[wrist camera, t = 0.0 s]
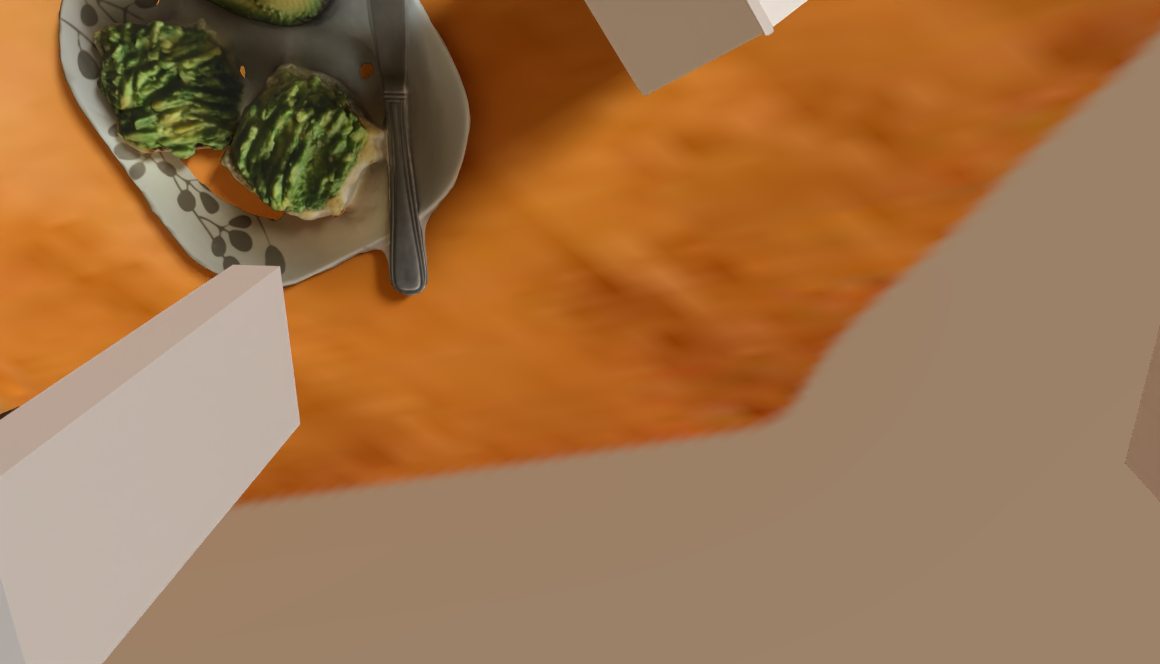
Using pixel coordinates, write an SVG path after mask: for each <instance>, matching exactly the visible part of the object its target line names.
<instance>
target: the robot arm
mask: <svg viewBox="0 0 1160 664" xmlns="http://www.w3.org/2000/svg"><path fill="white" fill-rule="evenodd" d="M299 425H300V419H299V411H298V403H297V395H296V387H295V379H294V372H293V364H292V356H291V348H290V340H289V332H288V325H287V317H286V309H285V301H284V293H283V285H282V277H281V270H280V266H258V265H232V266H230V267H229V268H227V269H226V270H224V271H223V272H221V273H220V274H218V275H217V276H215V277H214V278H212V279H211V280H209V281H208V282H206V283H205V284H203V285H202V286H200V287H199V288H197V289H196V290H194V291H193V292H191V293H190V294H188V295H187V296H185V297H184V298H182V299H181V300H179V301H178V302H176V303H175V304H173V305H172V306H170V307H169V308H167V309H166V310H164V311H163V312H161V313H160V314H158V315H157V316H155V317H154V318H152V319H151V320H149V321H148V322H146V323H145V324H143V325H142V326H140V327H139V328H137V329H136V330H134V331H133V332H131V333H130V334H128V335H127V336H125V337H124V338H122V339H121V340H119V341H118V342H116V343H115V344H113V345H112V346H110V347H109V348H107V349H106V350H104V351H103V352H101V353H100V354H98V355H97V356H95V357H94V358H92V359H91V360H89V361H88V362H86V363H85V364H83V365H82V366H80V367H79V368H77V369H76V370H74V371H73V372H71V373H70V374H68V375H67V376H65V377H64V378H62V379H61V380H59V381H58V382H56V383H55V384H53V385H52V386H50V387H49V388H47V389H46V390H44V391H43V392H41V393H40V394H38V395H37V396H35V397H34V398H32V399H31V400H29V401H28V402H26V403H25V404H23V405H22V406H19V407H17V408H14V409H12V410H9V411H7V412H4V413H2V414H0V664H102V663H103V662H104V661H105V660H106V659H107V657H108V656H109V655H110V654H111V652H112V651H113V650H114V649H115V648H116V647H117V645H118V644H119V643H120V642H121V640H122V639H123V638H124V637H125V636H126V634H127V633H128V632H129V631H130V630H131V628H132V627H133V626H134V624H135V623H136V622H137V621H138V620H139V619H140V617H141V616H142V615H143V614H144V613H145V611H146V610H147V609H148V608H149V607H150V605H151V604H152V603H153V602H154V600H155V599H156V598H157V597H158V595H159V594H160V593H161V592H162V591H163V590H164V588H165V587H166V586H167V585H168V584H169V582H170V581H171V580H172V579H173V577H174V576H175V575H176V574H177V573H178V571H179V570H180V569H181V568H182V567H183V565H184V564H185V563H186V562H187V560H188V559H189V558H190V557H191V556H192V554H193V553H194V552H195V550H196V549H197V548H198V547H199V546H200V545H201V544H202V542H203V541H204V540H205V539H206V537H207V536H208V535H209V534H210V533H211V531H212V530H213V529H214V528H215V526H216V525H217V524H218V523H219V522H220V521H221V519H222V518H223V517H224V516H225V514H226V513H227V512H228V511H229V510H230V508H231V507H232V506H233V505H234V504H235V502H236V501H237V500H238V499H239V498H240V496H241V495H242V494H243V493H244V491H245V490H246V489H247V488H248V487H249V485H250V484H251V483H252V482H253V481H254V479H255V478H256V477H257V476H258V474H259V473H260V472H261V471H262V470H263V468H264V467H265V466H266V465H267V464H268V462H269V461H270V460H271V459H272V458H273V456H274V455H275V454H276V453H277V451H278V450H279V449H280V448H281V447H282V445H283V444H284V443H285V442H286V441H287V439H288V438H289V437H290V436H291V434H292V433H293V432H294V431H295V430H296V428H297V427H298V426H299ZM1125 464H1126V465H1127V466H1128V467H1129V468H1130V469H1131V470H1132V471H1133V472H1134V473H1135V474H1136V476H1137V477H1138V478H1139V479H1140V480H1141V481H1142V482H1143V483H1144V484H1145V486H1146V487H1147V488H1148V489H1149V490H1150V491H1151V492H1152V493H1153V494H1154V495H1155V497H1156V498H1157V499H1158V500H1159V501H1160V327H1159V331H1158V335H1157V339H1156V343H1155V347H1154V351H1153V355H1152V359H1151V363H1150V366H1149V371H1148V374H1147V378H1146V382H1145V386H1144V390H1143V394H1142V398H1141V402H1140V406H1139V409H1138V413H1137V417H1136V421H1135V425H1134V429H1133V433H1132V437H1131V441H1130V445H1129V449H1128V453H1127V457H1126V461H1125Z"/></svg>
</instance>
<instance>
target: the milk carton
mask: <svg viewBox="0 0 1160 664" xmlns="http://www.w3.org/2000/svg"><path fill="white" fill-rule="evenodd" d="M584 1H585V3H586V4H587V6H588V8H589V9H590V11H591V12H592V14H593V16H594V17H595V19H596V21H597V22H598V24H599V26H600V27H601V29H602V31H603V32H604V34H605V36H606V37H607V39H608V40H609V42H610V44H611V45H612V47H613V49H614V50H615V52H616V54H617V55H618V57H619V59H620V60H621V62H622V64H623V65H624V67H625V68H626V70H627V72H628V73H629V75H630V77H631V78H632V80H633V81H634V83H635V85H636V86H637V88H638V89H639V90H640V92H641V93H642V94H643V95H644V96H646V95H648V94H650V93H652V92H654V91H655V90H657V89H659V88H661V87H663V86H665V85H667V84H669V83H671V82H672V81H674V80H676V79H678V78H680V77H682V76H684V75H686V74H688V73H689V72H691V71H693V70H695V69H697V68H699V67H701V66H703V65H705V64H706V63H708V62H710V61H712V60H714V59H716V58H718V57H720V56H722V55H723V54H725V53H727V52H729V51H731V50H733V49H735V48H737V47H739V46H740V45H742V44H744V43H746V42H748V41H750V40H752V39H754V38H756V37H757V36H759V35H761V34H763V33H764V34H765V35H767V36H768V35H770V34H772V33H773V32H774V31H773V26H775V25H776V24H777V23H779V22H780V21H781V20H783V19H784V18H785V17H786V16H788V15H789V14H790V13H792V12H793V11H794V10H796V9H797V8H798V7H799V6H801V5H802V4H803V3H805V2H806V1H807V0H584Z"/></svg>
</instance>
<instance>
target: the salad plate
mask: <svg viewBox="0 0 1160 664" xmlns="http://www.w3.org/2000/svg"><path fill="white" fill-rule="evenodd" d="M157 2H158V0H62V2H61V7H60V12H59V46H60V60H61V63H62V68H63V72H64V75H65V79H66V81H67V83H68V85H69V86H70V89H71V91H72V93H73V95H74V97H75V100H76V101H77V103H78V105H79V106H80V108H81V109H82V111H83V113H84V114H85V115H86V117H87V118H88V120H89V121H90V122H91V124H92V125H93V127H94V128H95V130H96V131H97V133H98V134H99V135H100V137H101V138H102V139H103V141H104V142H105V143H106V145H107V146H108V147H109V149H110V150H111V152H112V153H113V154H114V156H115V157H116V158H117V160H118V161H119V162H120V164H121V165H122V166H123V168H124V169H125V170H126V172H127V173H128V175H129V177H130V178H131V179H132V181H133V182H134V183H135V184H136V185H137V187H138V188H139V189H140V190H141V192H142V194H143V196H144V197H145V199H146V200H147V202H148V203H149V205H150V208H151V210H152V212H154V213H155V214H156V215H157V216H158V217H159V218H160V220H161V221H162V223H163V224H164V225H165V227H166V228H167V229H168V231H169V232H170V233H171V234H172V236H173V237H174V238H175V239H176V240H177V242H178V243H179V244H180V246H181V247H182V248H183V249H184V251H185V252H186V253H187V254H188V255H189V256H190V257H191V258H192V259H194V260H195V261H196V262H197V263H199V264H200V265H201V266H203V267H205V268H207V269H209V270H210V271H212V272H214V273H216V274H220V273H221V272H223V271H224V270H226V269H227V268H229V267H230V266H232V265H258V266H280V270H281V277H282V285H283V288H284V287H288V286H291V285H295V284H298V283H300V282H301V281H303V280H305V279H307V278H309V277H311V276H313V275H316V274H319V273H322V272H324V271H326V270H328V269H330V268H333V267H336V266H337V265H339V264H340V263H342V262H344V261H346V260H348V259H350V258H352V257H353V256H355V255H357V254H359V253H365V252H368V251H371V250H381V251H382V252H384V253H385V256H386V258H387V261H388V265H389V278H390V280H391V284H392V286H393V287H394V289H396V290H397V291H399V292H400V293H402V294H404V295H415V294H418V293H420V292H421V291H423V289H424V288H425V286H426V284H427V281H428V271H427V256H426V244H425V229H426V225H427V222H428V219H429V217H430V215H431V214H432V213H433V212H434V211H435V210H436V209H437V207H438V205H439V204H440V203H441V202H442V201H443V200H444V198H445V197H446V196H447V195H448V194H449V192H450V190H451V189H452V188H453V187H454V186H455V183H456V180H457V176H458V174H459V171H460V168H461V165H462V162H463V159H464V155H465V151H466V146H467V141H468V135H469V132H470V126H471V117H470V113H469V104H468V99H467V94H466V91H465V88H464V86H463V83H462V80H461V77H460V75H459V73H458V70H457V68H456V66H455V64H454V61H453V59H452V57H451V55H450V53H449V51H448V48H447V46H446V44H445V42H444V41H443V39H442V37H441V36H440V34H439V33H438V31H437V30H436V29H435V27H434V26H433V24H432V23H431V21H430V18H429V16H428V15H427V13H426V11H425V9H424V7H423V6H422V4H421V3H420V1H419V0H160V1H159V4H158V5H156V4H157ZM365 63H370V64H371V65H372V66H373V68H374V73H373V75H372V76H370V77H369V78H368V79H367V78H362V77H361V75H360V68H361V66H362V65H363V64H365ZM241 66H244V68H245V72H246V73H245V79H244V77H243V76H242V75H241V72H240V67H241ZM225 147H228V148H227V149H226V151H225V152H224V154H223V156H222V158H221V164H222V165H223V166H225V167H226V168H227V169H228V170H229V171H230V172H231V174H232V176H233V177H234V178H235V179H236V180H237V181H239V182H240V183H241V184H242V185H243V186H244V187H245V188H247V189H248V190H249V191H251V192H252V193H254V194H255V195H256V196H258V197H259V198H260V199H261V200H262V201H263V202H264V203H266V204H268V205H269V206H270V207H271V208H272V209H273V210H277V211H283V210H284V211H285V212H286V213H285V214H284V215H283V216H282V217H281V218H280V219H278V220H273V219H268V218H264V217H260V216H256V215H253V214H250V213H247V212H245V211H243V210H241V209H240V208H238V207H236V206H234V205H232V204H229V203H227V202H225V201H223V200H222V199H221V198H219V197H218V196H216V195H215V194H214V193H212V192H211V191H210V190H209V189H208V187H207V186H205V185H204V184H202V183H200V182H199V181H198V180H197V178H196V177H195V176H194V175H193V174H192V173H191V171H190V170H189V168H188V167H187V166H186V165H185V164H184V163H183V162H182V161H181V160H180V158H181V159H188V158H189V157H191V156H193V155H195V151H196V150H197V149H207V148H212V149H213V150H222V149H224V148H225Z"/></svg>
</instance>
